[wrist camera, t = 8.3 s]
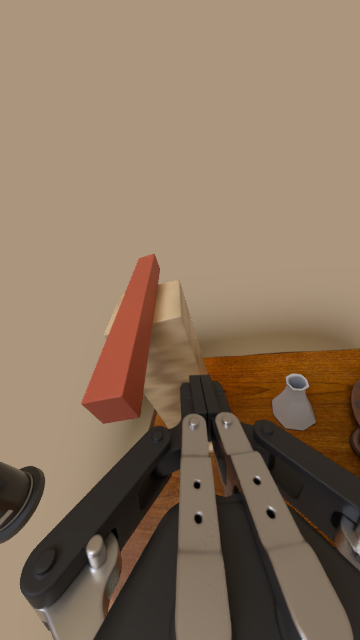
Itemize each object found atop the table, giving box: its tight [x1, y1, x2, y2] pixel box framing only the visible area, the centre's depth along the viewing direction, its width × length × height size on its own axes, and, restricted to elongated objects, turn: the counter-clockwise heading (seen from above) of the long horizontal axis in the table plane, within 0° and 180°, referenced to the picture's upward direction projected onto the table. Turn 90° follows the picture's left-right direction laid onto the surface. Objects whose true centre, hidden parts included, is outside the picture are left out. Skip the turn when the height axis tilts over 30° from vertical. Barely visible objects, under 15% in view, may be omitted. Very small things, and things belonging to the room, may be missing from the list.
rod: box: [81, 254, 160, 424], centre depth 20 cm, size 2×22×2 cm, turn 1°
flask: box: [272, 374, 316, 430], centre depth 35 cm, size 7×7×10 cm
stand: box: [104, 280, 214, 453], centre depth 31 cm, size 10×10×31 cm
